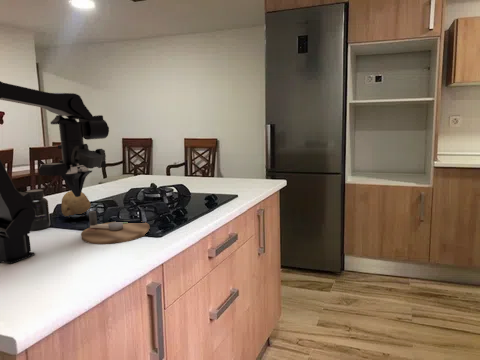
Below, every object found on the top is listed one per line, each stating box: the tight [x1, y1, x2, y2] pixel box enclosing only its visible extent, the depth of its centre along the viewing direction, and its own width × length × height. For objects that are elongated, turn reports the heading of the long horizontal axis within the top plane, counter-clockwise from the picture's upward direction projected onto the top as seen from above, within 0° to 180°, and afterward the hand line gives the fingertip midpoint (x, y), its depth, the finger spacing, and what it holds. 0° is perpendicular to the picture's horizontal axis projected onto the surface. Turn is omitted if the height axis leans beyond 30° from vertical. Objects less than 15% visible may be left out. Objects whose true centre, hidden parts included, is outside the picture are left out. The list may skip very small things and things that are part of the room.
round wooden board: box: [80, 221, 150, 245], centre depth 110 cm, size 19×19×1 cm
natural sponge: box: [61, 190, 92, 217], centre depth 128 cm, size 9×9×10 cm
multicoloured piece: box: [88, 210, 123, 230], centre depth 111 cm, size 10×4×5 cm, turn 78°
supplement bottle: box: [25, 189, 51, 231], centre depth 119 cm, size 7×7×12 cm
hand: (77, 196), depth 106 cm, fingers closed
